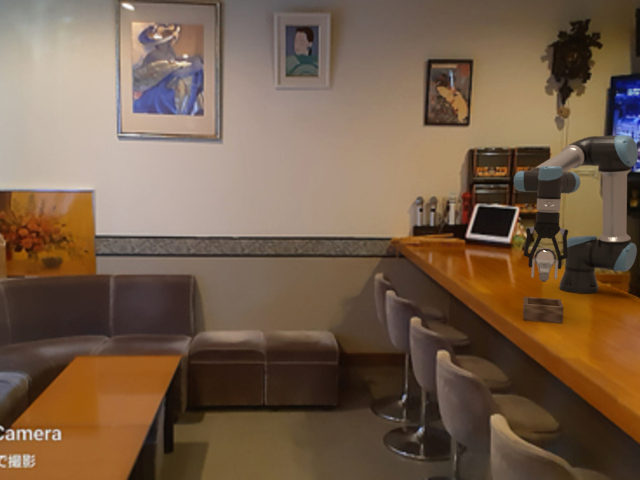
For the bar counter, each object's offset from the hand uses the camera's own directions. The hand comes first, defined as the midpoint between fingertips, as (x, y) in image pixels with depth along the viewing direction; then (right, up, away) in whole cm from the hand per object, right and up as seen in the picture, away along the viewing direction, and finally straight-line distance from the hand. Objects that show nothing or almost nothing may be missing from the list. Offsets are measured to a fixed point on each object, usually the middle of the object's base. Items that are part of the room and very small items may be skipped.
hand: (543, 277), depth 205 cm
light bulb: (0, -2, 0) cm, 2 cm away
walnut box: (0, -14, +2) cm, 14 cm away
